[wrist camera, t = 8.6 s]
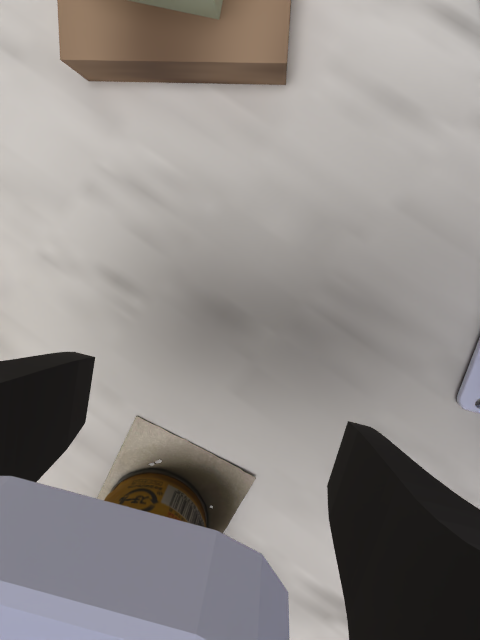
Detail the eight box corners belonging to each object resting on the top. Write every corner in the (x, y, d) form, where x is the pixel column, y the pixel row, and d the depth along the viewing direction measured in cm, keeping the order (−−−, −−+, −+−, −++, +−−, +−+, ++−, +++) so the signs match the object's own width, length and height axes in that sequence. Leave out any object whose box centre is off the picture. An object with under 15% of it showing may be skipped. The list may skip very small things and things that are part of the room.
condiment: (82, 529, 25) (-93, 800, 13) (137, 414, 23) (-11, 614, 11) (191, 583, 25) (115, 899, 13) (256, 474, 23) (232, 733, 11)
